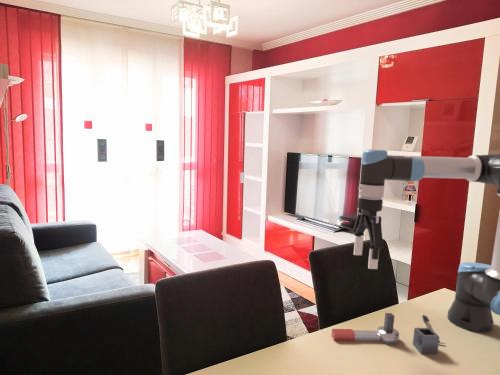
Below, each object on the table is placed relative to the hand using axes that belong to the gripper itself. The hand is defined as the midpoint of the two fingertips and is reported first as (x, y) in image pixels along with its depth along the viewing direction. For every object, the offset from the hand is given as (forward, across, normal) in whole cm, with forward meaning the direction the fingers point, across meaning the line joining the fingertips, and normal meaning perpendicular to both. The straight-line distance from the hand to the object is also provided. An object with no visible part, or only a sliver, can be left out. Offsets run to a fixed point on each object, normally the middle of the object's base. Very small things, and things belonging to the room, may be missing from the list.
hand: (364, 261), depth 123 cm
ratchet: (+27, 0, +3) cm, 28 cm away
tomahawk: (+28, -7, +31) cm, 42 cm away
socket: (+27, +6, +21) cm, 35 cm away
